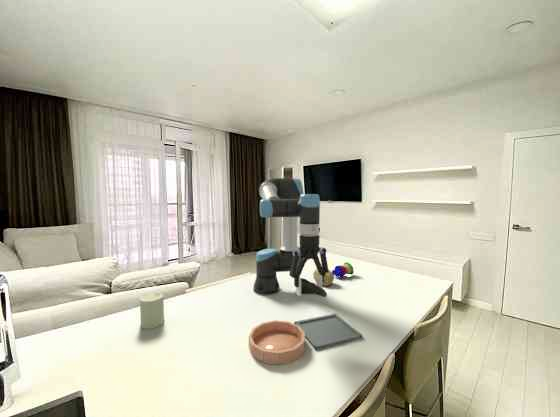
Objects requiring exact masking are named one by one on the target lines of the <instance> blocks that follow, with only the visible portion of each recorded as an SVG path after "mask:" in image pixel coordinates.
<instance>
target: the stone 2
mask: <svg viewBox="0 0 560 417" xmlns="http://www.w3.org/2000/svg"><path fill="white" fill-rule="evenodd" d="M300 278H301V295H317V296H320V297H323V298H326V297H328V294H327V292H326V290H325V289H324V288H323V287H322V288H320V287H318V286H317V283H314V282H312V281H309V280H308V279H307V278H302V277H300Z"/></svg>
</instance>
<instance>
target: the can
mask: <svg viewBox="0 0 560 417" xmlns="http://www.w3.org/2000/svg"><path fill="white" fill-rule="evenodd" d="M164 297H165V296H164V293H161V292H151V293H148V294H144V295H143V296H141V297H140V298H139V308H140V309H139V310H140V312H139V313H140V328H142V329H146V330H150V329H154V328H157V327H160V326H161V325H163V324H164V323H165V307H164V306H165V305H164V303H165V302H164Z"/></svg>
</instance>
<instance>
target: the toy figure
mask: <svg viewBox="0 0 560 417" xmlns="http://www.w3.org/2000/svg"><path fill="white" fill-rule="evenodd" d="M331 272H332V273H333V274H334V277H337V278H340V277H342V278H344V277H345V276H344V275H345V274H351V275H354V267H353V266H352V264H351V263H350V262H344V263H343V265H336V266H335V267H334V269H332V270H331ZM339 276H340V277H339Z"/></svg>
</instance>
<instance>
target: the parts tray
mask: <svg viewBox="0 0 560 417" xmlns="http://www.w3.org/2000/svg"><path fill="white" fill-rule="evenodd" d="M293 324H295V325H298V326H299V327H300V328H301V329H302V330H303V331H304V333H305V340H306V341H307V342H308V343H309V345H310V346H311V347H312V348H313V349H314V351H319V350H321V349H326V348H330V347H333V346H338V345H341V344H345V343H349V342H353V341H354V342H355V341H357V340H361V339H363V334H362V333H360V332H359V331H358V330H357V329H356V328H354V327H353V326H351V324H349V323H348V322H347V321H346V320H344V319H343V318H342V317H340V316H339V315H338V314H337V313H331V314H326V315H321V316H317V317H312V318H311V317H310V318H307V319H302V320H297V321H294V323H293Z"/></svg>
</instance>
